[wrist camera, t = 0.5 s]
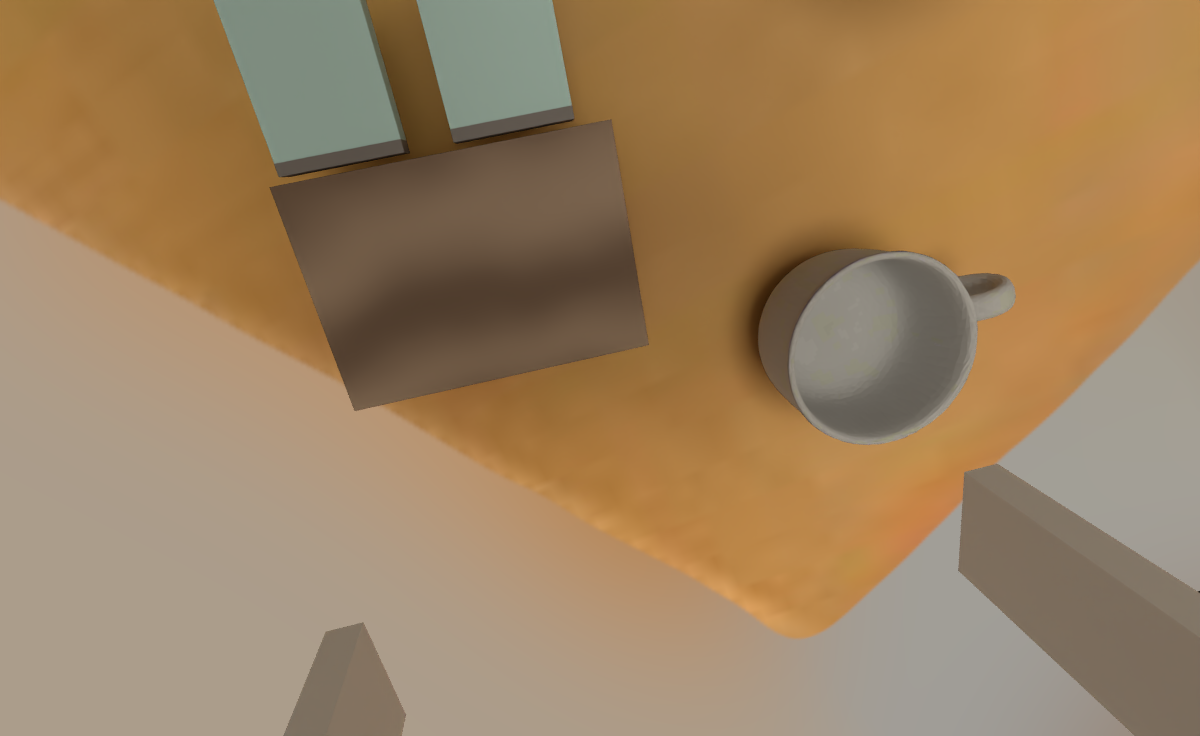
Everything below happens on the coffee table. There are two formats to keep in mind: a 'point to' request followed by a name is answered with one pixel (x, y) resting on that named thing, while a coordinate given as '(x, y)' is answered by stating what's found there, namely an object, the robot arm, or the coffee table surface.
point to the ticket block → (469, 263)
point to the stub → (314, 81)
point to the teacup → (875, 339)
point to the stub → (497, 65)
